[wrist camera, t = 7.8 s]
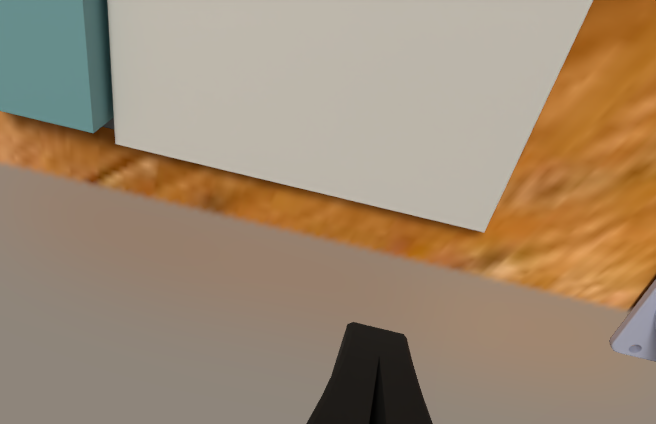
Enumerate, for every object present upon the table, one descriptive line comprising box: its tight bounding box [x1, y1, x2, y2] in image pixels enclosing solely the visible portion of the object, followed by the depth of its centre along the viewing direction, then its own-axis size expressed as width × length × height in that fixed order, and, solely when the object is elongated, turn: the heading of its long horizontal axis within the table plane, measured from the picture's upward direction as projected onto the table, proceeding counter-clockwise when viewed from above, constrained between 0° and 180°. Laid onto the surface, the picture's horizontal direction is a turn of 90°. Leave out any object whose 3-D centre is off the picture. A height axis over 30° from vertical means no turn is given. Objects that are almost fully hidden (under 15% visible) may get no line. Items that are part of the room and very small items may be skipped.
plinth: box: [107, 0, 593, 232], centre depth 16 cm, size 14×10×2 cm
